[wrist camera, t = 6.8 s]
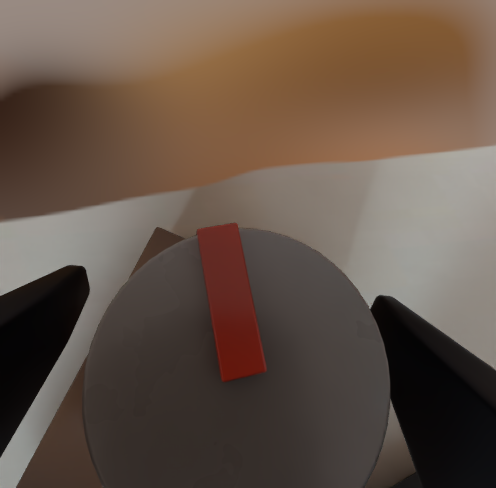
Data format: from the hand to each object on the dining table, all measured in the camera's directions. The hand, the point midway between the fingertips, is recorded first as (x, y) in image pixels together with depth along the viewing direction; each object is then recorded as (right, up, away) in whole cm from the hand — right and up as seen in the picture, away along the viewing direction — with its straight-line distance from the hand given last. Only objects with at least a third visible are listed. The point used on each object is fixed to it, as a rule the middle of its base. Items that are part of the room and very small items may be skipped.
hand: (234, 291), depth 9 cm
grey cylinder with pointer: (0, -2, +4) cm, 4 cm away
